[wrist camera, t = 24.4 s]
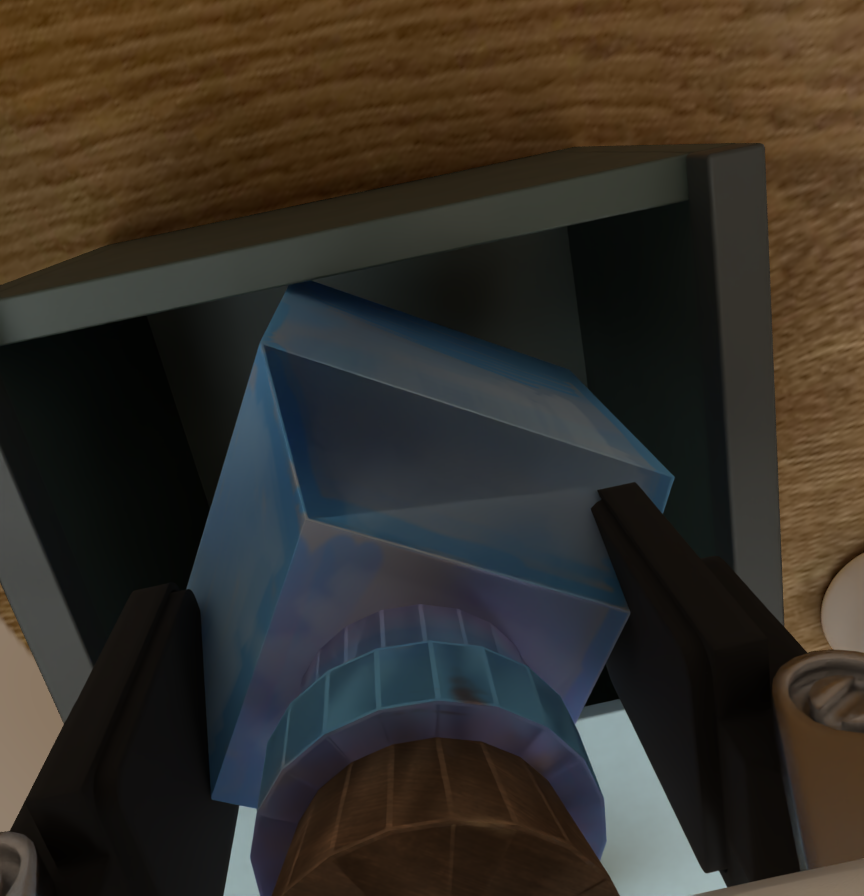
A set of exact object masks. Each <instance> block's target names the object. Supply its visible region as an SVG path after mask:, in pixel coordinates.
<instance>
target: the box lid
mask: <svg viewBox="0 0 864 896" xmlns="http://www.w3.org/2000/svg"><path fill="white" fill-rule="evenodd" d="M575 726H576V728H577V730H578V732H579V734H580V737H581V740H582V742H583V745H584V747H585V750H586V753H587V755H588V758H589V760H590V763H591V766H592V768H593V771H594V773H595V776H596V779H597V781H598V784H599V786H600V789H601V792H602V794H603V797H604V802H605V820H606V837H607V842H606V845H605V848H604V851H603V854H602V857H601V860H600V862H601V864H602V865H603V867H604V868H605V870H606V871H607V873H608V874H609V876H610V878H611V880H612V881H613V883H614V885H615V887H616V889H617V891H618V893H619V895H620V896H690V895H695V894H699V893H704V892H708V891H713V890H718V889H722V888H727V886H726V884H725V882H724V880H723V878H722V876H721V874H720V872H719V871H716V872H711V873H705V872H704V871H703V870H702V868H701V867H700V865H699V863H698V861H697V859H696V857H695V854H694V852H693V850H692V848H691V846H690V844H689V842H688V840H687V838H686V836H685V834H684V832H683V830H682V827H681V825H680V823H679V821H678V819H677V817H676V815H675V813H674V811H673V809H672V807H671V805H670V802H669V800H668V798H667V796H666V794H665V792H664V790H663V788H662V786H661V784H660V782H659V780H658V777H657V775H656V773H655V771H654V769H653V767H652V765H651V763H650V761H649V759H648V757H647V755H646V753H645V750H644V748H643V746H642V744H641V742H640V740H639V738H638V736H637V734H636V732H635V730H634V728H633V725H632V723H631V721H630V719H629V717H628V715H627V713H626V711H625V709H624V707H623V705H622V703H621V701H620V699H617V700H612V701H608V702H603V703H599V704H594V705H590V706H585V707H584V708H583V710H582V712H581V714H580V716H579V718H578V720H577V722H576V724H575ZM256 813H257V809H255V808H250V807H245V806H240V805H239V811H238V817H237V822H236V828H235V834H234V839H233V845H232V850H231V856H230V862H229V867H228V873H227V879H226V884H225V890H224V896H260V894H259V890H258V886H257V883H256V879H255V875H254V871H253V868H252V864H251V860H250V853H251V846H252V839H253V833H254V826H255V820H256Z"/></svg>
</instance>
